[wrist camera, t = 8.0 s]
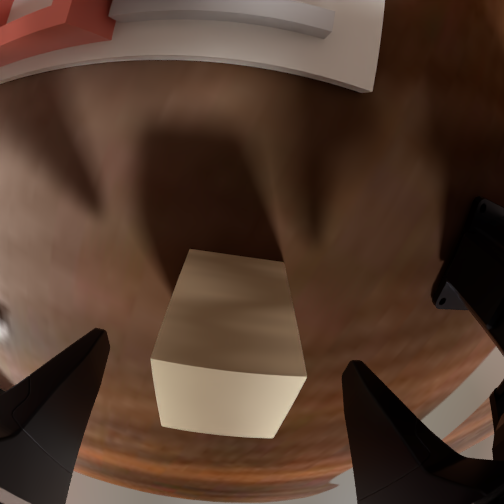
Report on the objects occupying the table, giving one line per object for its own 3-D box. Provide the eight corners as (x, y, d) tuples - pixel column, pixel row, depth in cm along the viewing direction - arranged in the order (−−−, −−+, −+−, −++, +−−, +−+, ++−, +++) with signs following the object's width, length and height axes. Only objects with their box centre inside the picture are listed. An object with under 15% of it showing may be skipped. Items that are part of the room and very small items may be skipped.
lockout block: (284, 262, 12) (307, 376, 7) (265, 330, 14) (272, 438, 9) (190, 248, 12) (150, 358, 6) (185, 319, 14) (161, 426, 8)
